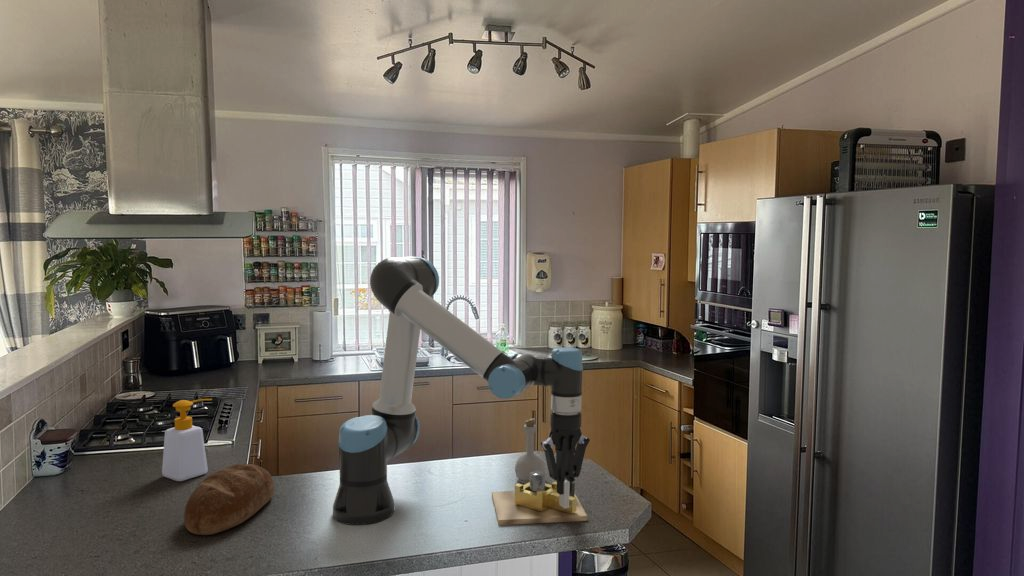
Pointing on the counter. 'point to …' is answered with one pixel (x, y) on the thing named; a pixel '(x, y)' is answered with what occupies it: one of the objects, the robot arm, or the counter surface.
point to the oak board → (530, 511)
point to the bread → (228, 498)
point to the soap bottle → (184, 447)
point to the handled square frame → (542, 498)
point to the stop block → (572, 490)
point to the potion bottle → (528, 456)
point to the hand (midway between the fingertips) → (564, 506)
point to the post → (537, 481)
